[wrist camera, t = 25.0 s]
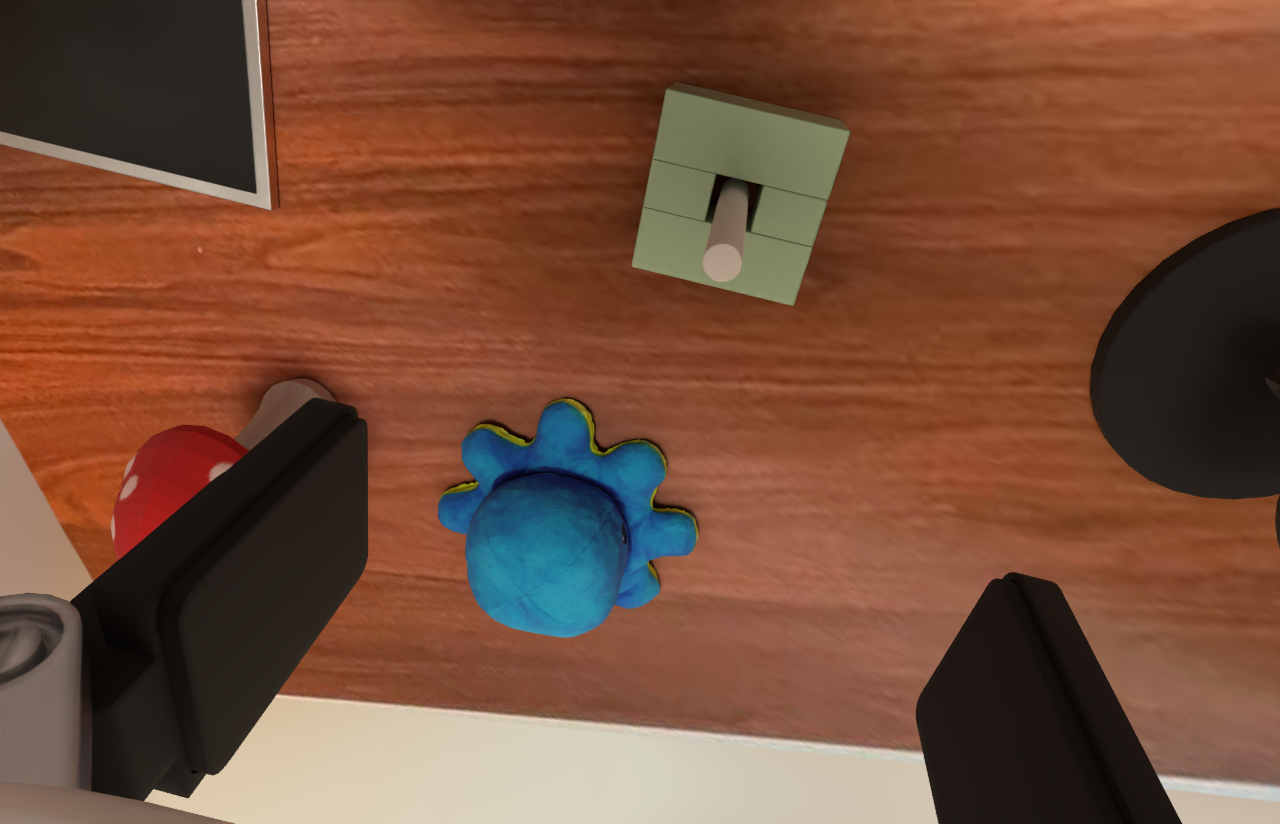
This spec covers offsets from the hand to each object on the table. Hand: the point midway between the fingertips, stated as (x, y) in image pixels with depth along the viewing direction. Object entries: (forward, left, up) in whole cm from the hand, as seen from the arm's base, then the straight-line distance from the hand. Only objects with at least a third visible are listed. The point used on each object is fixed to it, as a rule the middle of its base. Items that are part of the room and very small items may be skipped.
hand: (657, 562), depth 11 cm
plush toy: (+24, -5, -30) cm, 38 cm away
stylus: (0, 0, -29) cm, 29 cm away
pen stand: (0, 0, -29) cm, 29 cm away
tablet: (0, -36, -29) cm, 46 cm away
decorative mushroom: (+21, -23, -30) cm, 43 cm away
